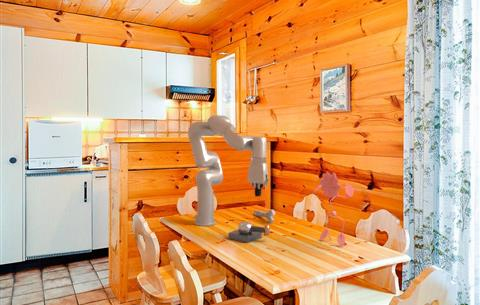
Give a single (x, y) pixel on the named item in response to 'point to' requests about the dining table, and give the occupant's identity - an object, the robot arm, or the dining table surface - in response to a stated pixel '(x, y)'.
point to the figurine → (331, 187)
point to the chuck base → (244, 236)
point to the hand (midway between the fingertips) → (257, 196)
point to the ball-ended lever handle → (252, 228)
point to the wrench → (266, 214)
